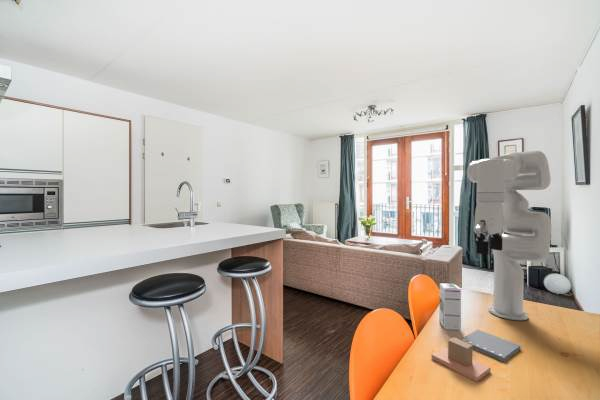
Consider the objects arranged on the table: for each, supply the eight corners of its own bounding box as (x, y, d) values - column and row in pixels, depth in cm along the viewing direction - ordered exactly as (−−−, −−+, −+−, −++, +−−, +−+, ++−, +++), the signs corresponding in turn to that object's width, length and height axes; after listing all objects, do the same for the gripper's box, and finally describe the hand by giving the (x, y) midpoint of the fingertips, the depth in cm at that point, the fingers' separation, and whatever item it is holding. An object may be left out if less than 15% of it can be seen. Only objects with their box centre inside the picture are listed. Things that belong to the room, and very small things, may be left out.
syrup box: (461, 330, 98) (462, 288, 97) (442, 328, 99) (443, 287, 99) (455, 323, 103) (456, 283, 103) (438, 321, 104) (439, 282, 104)
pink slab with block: (445, 350, 85) (445, 330, 85) (490, 371, 75) (490, 348, 75) (431, 358, 81) (431, 337, 80) (477, 381, 71) (477, 357, 71)
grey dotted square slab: (477, 333, 96) (477, 329, 96) (520, 349, 86) (520, 345, 86) (459, 343, 89) (459, 339, 89) (503, 361, 79) (503, 357, 79)
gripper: (489, 197, 98) (488, 246, 98) (464, 198, 88) (463, 253, 89) (515, 197, 92) (514, 250, 92) (491, 199, 82) (490, 258, 83)
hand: (489, 251), depth 91 cm, fingers open, 9 cm apart
